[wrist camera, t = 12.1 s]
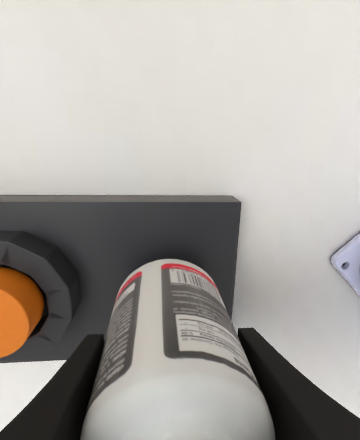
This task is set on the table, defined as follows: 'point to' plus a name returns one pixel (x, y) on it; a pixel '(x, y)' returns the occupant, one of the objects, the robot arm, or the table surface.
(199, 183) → the table surface
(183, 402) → the pill bottle
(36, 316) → the button
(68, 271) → the base
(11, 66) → the table surface
